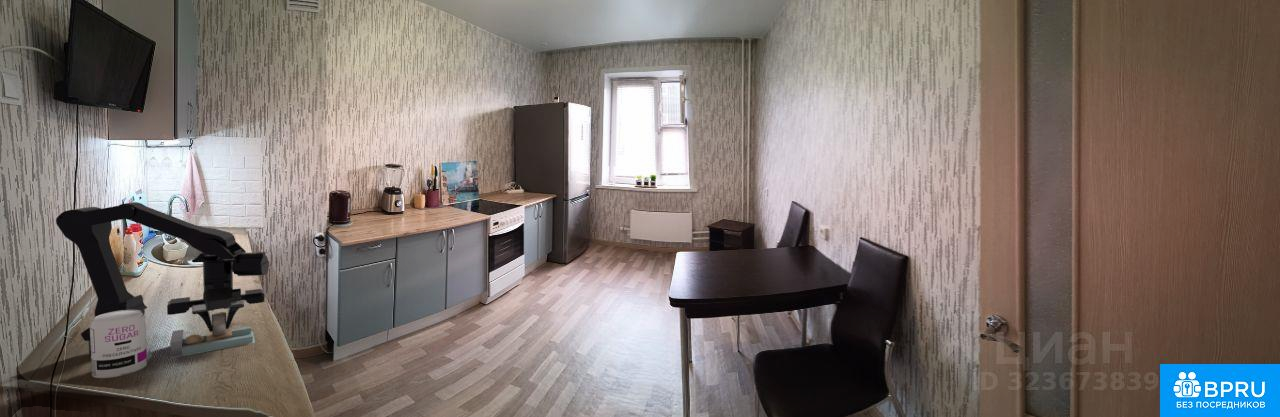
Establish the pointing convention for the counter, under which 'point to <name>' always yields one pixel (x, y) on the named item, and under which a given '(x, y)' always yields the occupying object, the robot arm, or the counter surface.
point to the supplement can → (118, 343)
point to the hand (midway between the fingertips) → (219, 330)
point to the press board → (220, 342)
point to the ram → (219, 328)
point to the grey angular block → (177, 343)
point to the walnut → (193, 339)
